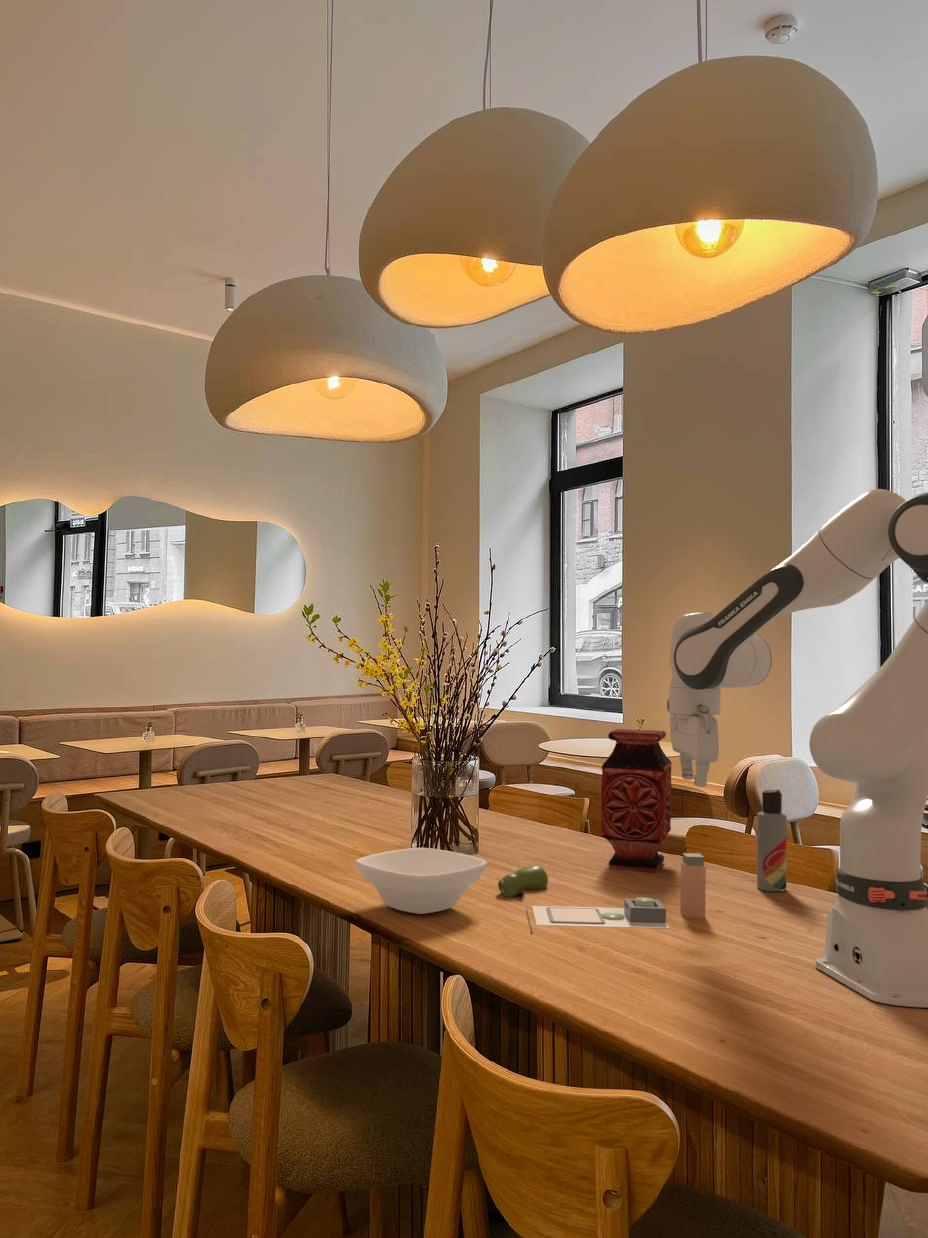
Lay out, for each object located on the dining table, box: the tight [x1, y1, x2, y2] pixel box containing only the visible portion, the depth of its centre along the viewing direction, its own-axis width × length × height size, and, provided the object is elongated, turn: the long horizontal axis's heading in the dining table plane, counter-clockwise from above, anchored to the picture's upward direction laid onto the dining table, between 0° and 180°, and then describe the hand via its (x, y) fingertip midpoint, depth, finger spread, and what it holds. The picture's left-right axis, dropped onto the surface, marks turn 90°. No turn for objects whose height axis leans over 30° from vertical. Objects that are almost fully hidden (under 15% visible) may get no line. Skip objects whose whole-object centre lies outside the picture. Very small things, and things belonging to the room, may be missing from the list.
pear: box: [497, 865, 549, 898], centre depth 177 cm, size 6×5×10 cm
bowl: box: [354, 847, 489, 915], centre depth 165 cm, size 21×21×9 cm
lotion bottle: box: [756, 789, 788, 892], centre depth 185 cm, size 6×6×20 cm
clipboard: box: [525, 905, 670, 935], centre depth 157 cm, size 14×24×1 cm, turn 90°
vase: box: [600, 728, 672, 873], centre depth 205 cm, size 14×14×30 cm
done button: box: [634, 897, 654, 907], centre depth 157 cm, size 3×3×2 cm
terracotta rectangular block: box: [679, 852, 707, 919], centre depth 160 cm, size 4×4×12 cm
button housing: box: [623, 898, 667, 924], centre depth 157 cm, size 6×6×2 cm
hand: (693, 782), depth 161 cm, fingers open, 8 cm apart
